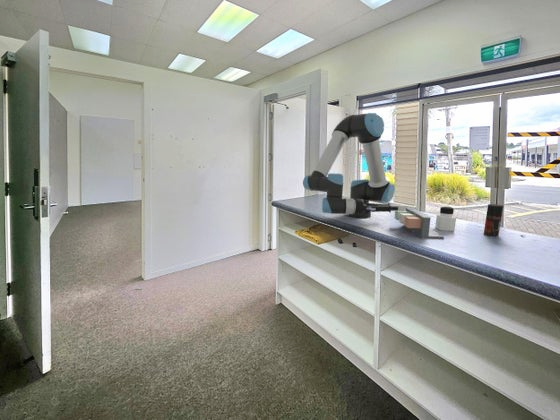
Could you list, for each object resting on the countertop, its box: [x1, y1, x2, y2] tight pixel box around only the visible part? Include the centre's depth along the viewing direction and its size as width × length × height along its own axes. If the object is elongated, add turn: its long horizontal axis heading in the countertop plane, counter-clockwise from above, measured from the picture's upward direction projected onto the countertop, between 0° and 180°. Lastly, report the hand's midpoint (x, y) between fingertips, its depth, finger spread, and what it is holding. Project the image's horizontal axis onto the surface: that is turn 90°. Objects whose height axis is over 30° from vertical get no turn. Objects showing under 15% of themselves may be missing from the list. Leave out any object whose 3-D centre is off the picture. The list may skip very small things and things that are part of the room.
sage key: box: [394, 211, 410, 221], centre depth 153 cm, size 10×4×4 cm, turn 85°
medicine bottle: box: [435, 205, 457, 232], centre depth 150 cm, size 7×7×12 cm
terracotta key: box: [404, 217, 422, 229], centre depth 138 cm, size 10×4×4 cm, turn 85°
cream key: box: [398, 213, 416, 225], centre depth 145 cm, size 10×4×4 cm, turn 85°
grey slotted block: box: [403, 207, 445, 240], centre depth 145 cm, size 10×25×10 cm, turn 175°
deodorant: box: [483, 203, 504, 237], centre depth 139 cm, size 6×6×15 cm
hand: (404, 208), depth 136 cm, fingers closed
